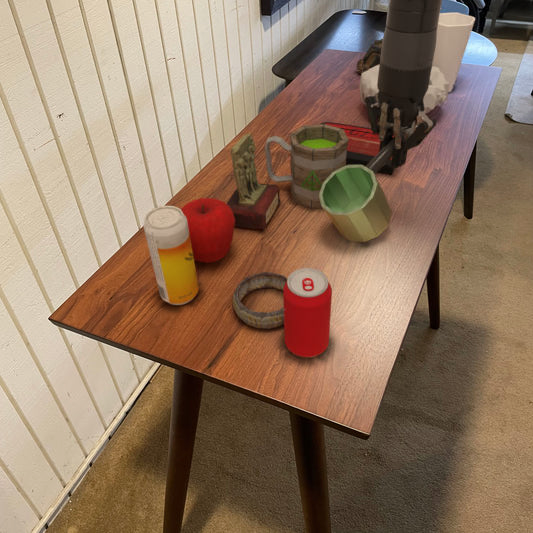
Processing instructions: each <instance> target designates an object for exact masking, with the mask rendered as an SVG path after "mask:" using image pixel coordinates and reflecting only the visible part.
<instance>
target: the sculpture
mask: <svg viewBox="0 0 533 533" xmlns="http://www.w3.org/2000/svg"><path fill="white" fill-rule="evenodd" d="M256 151H257V148H256V142H255V141H254V137H253V136H252V133H247V134H245V135H243V136H242V137H241V138H240V139H239V140H238V141H237V142H236V143H235V144H234V145H233V146H232V147H231V148H230V157H231V164H232V169H233V176H234V180H235V185H236V189H235V190H234V191H233V193H232V194H231V196H230V198H229V199H228V201H227V202H226V204H228V205H229V206H230V208H231V210H232V212H233V215H234V218H235V226H234V227H239V228H247V229H254V230H256V229H258V230H265V228H266V226H267V224H268V223H269V222H270V220H271V218H272V216H273V214H274V213H275V211H276V209H277V208H278V207H279V204H280V203H281V199H280V198H281V197H280V195H281V194H280V190H281V188H280V187H279V186H278V185H277V184H268V183H262V182H261V183H260V182H259V180H258V175H257V171H258V170H257V168H256V161H255V158H256V153H255V152H256Z"/></svg>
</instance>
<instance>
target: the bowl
mask: <svg viewBox="0 0 533 533" xmlns="http://www.w3.org/2000/svg"><path fill="white" fill-rule="evenodd" d="M379 65H380V64H379ZM379 65H377V66H374V67H373V68H371V69H369V70H368V71H365V72H363V73H362V74H361V75H360V79H359V84H358V85H359V93H360V94H359V96H360V101H361V102H362V104H363V105H364V106H366V105H365V98H366V97H368V96H370V95H373V94H377V93H378V91H379V90H378V88H377V82H378V74H379ZM448 89H449V83H448V82H447V81H446V80H445V77H444V74H443V73H442V72H441V71H440V69H439V67H432V70H431V75H430V81H429V86H428V90H427V92H426V94H425V96H424V99H423V101H424V107H425V108H424V113H425V114H426V115H427V114H429V113H430V112H431V111H433V110H434V109H435V108H436V107H437V106H438V107H439V105H440V104H441V109H443V107H444V104H445V102H447V101H448V95H449V94H448V93H449V92H448Z"/></svg>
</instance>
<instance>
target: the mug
mask: <svg viewBox="0 0 533 533" xmlns="http://www.w3.org/2000/svg"><path fill="white" fill-rule="evenodd" d="M289 139H290V144H288V143H287V142H286V141H285V139H283V138H282V137H280V136H277V135H274V136H270V137H268V138H267V139H266V143H265V145H264V154H265V160H266V171H267V175H268V176H269V178H270V180H271V181H274V182H276V183H284V182H290V194H291V197H292V200H293V202H294V203H296V204H298V205H300V206H304V207H305V208H308V209H311V210H314V209H323V208H322V206H321V202H320V198H319V193H320V190H321V187H322V184H323V182H324V181H325V180H326V179H327V178H328V177H329V176H330V175H331V173H332V172H334V171H335V170H337V169H340V168H342V167H344V166H346V152H347V146H348V141H349V140H348V138H347V136H346V134H345V132H344V130H343V129H340V128H336V127H333V126H330V125H327V124H321V123H319V124H307V125H302V126H300V127H299V128H297V129H296V130H294V131H293V132H291V133H290V134H289ZM271 143H276V144H279V147H281V148H282V149H283V150H285V151H286V152H290V161H289V165H290V174H285V175H280V176H279V175H277V174H275V173H274V170H273V164H272V162H273V161H272V152H271V149H270V145H271Z"/></svg>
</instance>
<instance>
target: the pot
mask: <svg viewBox="0 0 533 533" xmlns="http://www.w3.org/2000/svg"><path fill="white" fill-rule="evenodd" d="M403 139H404V136H403ZM394 147H395V136H394V137H393V138H392V139H391V140H390V141H389V142H388V143H387V144H386V145H385V147H384V148H383V149H382V150H381V151H380V152H379V153H378V154H377V155H376V156H375V157H374V158H373V159H372V160H371V161H370V162H369V163H368V164H367V166H366V167H365V166H363V165H346V166H344V167H342V168H340V169H337V170H335V171H334V172H332V173H331V175H330V176H329V177H328V178H327V179H326V180H325V181H324V182H323V184H322V187H321V190H320V193H319V198H320V202H321V206H322V208H321V209H323V211H324V213H325V214H326V215H327V217H328V219H329V220H330V221H331V222H332V224H333V225H334V226H335V228H336V230H337V231H338V233H339V234H340V235H341V236H343V238H346V239H347V240H348V241H350V242H357V243H358V242H359V243H366V242H368V241H370V240H373V239H375V238H378V237H379V236H380V235H381V234H382V233H383V232H384V231H385V230H386V229H387V228H388V227H389V225H390V221H391V219H392V214H393V211H392V207H391V206H390V203H389V200H388V198H387V197H386V194H385V192H384V190H383V188H382V186H381V184H380V182H379V180H378V178H377V176H376V174H377V173H379V172H378V171H379V170H380V169H381V167H382V166H383V165H384V164H385V163H386V162H387V161H388V160H389V159H390V158H391V157H392V156H393V149H394Z"/></svg>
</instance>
